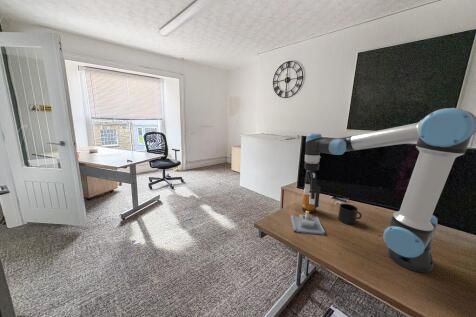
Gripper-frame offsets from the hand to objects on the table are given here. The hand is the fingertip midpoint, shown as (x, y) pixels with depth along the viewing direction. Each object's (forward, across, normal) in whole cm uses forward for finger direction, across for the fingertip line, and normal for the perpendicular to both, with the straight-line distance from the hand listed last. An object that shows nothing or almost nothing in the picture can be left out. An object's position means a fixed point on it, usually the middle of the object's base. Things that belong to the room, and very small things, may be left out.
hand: (309, 199), depth 108 cm
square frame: (+16, +1, +1) cm, 16 cm away
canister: (+17, +20, -6) cm, 27 cm away
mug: (+17, +10, -26) cm, 33 cm away
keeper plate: (+17, 0, 0) cm, 17 cm away
